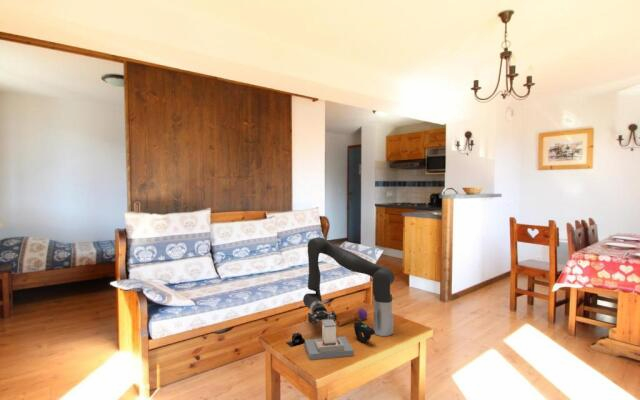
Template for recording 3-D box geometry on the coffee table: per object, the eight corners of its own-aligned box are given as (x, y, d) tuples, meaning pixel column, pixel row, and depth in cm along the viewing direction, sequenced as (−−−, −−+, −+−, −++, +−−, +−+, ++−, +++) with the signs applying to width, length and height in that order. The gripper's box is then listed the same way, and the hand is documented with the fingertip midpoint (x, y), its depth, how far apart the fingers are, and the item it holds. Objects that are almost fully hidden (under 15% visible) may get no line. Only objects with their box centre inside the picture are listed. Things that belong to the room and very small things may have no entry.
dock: (345, 341, 165) (345, 331, 164) (353, 355, 151) (353, 344, 151) (304, 345, 161) (304, 334, 160) (309, 360, 147) (309, 348, 147)
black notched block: (289, 349, 157) (289, 340, 157) (282, 343, 163) (282, 334, 163) (311, 343, 164) (311, 334, 163) (304, 337, 170) (304, 328, 170)
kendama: (334, 317, 185) (361, 307, 197) (336, 328, 185) (363, 317, 196) (341, 318, 180) (368, 308, 192) (343, 329, 180) (370, 318, 192)
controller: (358, 336, 171) (358, 316, 170) (376, 345, 161) (376, 325, 160) (352, 338, 168) (352, 318, 168) (369, 348, 158) (369, 327, 158)
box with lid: (332, 341, 158) (333, 319, 158) (336, 348, 152) (336, 325, 152) (321, 342, 157) (321, 320, 157) (324, 349, 151) (324, 326, 150)
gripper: (305, 304, 176) (310, 315, 161) (331, 302, 179) (339, 313, 164) (305, 318, 177) (310, 331, 161) (331, 316, 180) (339, 328, 164)
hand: (325, 322), depth 162 cm, fingers open, 8 cm apart
